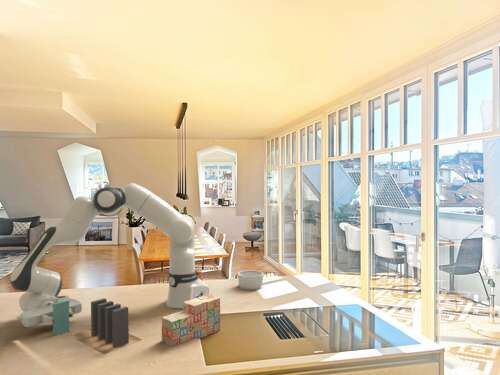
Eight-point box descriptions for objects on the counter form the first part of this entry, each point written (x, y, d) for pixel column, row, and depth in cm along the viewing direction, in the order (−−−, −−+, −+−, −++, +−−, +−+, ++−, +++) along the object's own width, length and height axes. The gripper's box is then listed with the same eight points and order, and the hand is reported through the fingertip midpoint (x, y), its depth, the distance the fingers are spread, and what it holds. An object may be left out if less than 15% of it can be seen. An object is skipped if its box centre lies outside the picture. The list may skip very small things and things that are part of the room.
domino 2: (104, 331, 140) (104, 298, 139) (107, 332, 139) (106, 299, 138) (91, 335, 136) (90, 301, 135) (93, 336, 135) (93, 302, 134)
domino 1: (67, 332, 141) (66, 300, 140) (69, 333, 140) (68, 300, 139) (53, 337, 137) (52, 303, 136) (55, 338, 136) (54, 304, 135)
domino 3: (111, 334, 137) (111, 300, 136) (113, 335, 136) (113, 301, 135) (98, 339, 133) (97, 304, 132) (100, 340, 132) (100, 305, 131)
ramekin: (254, 292, 189) (254, 278, 189) (232, 287, 196) (232, 274, 196) (268, 285, 200) (268, 272, 200) (246, 281, 207) (246, 268, 207)
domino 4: (118, 338, 134) (118, 303, 133) (121, 339, 133) (120, 304, 132) (105, 342, 130) (104, 307, 130) (107, 344, 129) (107, 308, 129)
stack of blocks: (172, 349, 127) (172, 312, 127) (161, 344, 132) (161, 308, 131) (220, 330, 143) (220, 297, 143) (209, 326, 147) (209, 293, 147)
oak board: (107, 326, 147) (107, 323, 147) (142, 342, 133) (142, 339, 133) (70, 338, 136) (70, 335, 136) (104, 357, 122) (104, 354, 122)
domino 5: (126, 341, 131) (125, 306, 131) (128, 342, 130) (128, 307, 130) (112, 346, 127) (112, 310, 127) (115, 348, 126) (114, 311, 126)
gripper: (14, 308, 138) (30, 317, 129) (71, 294, 154) (89, 301, 145) (14, 325, 138) (31, 336, 130) (71, 310, 154) (89, 318, 145)
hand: (62, 317), depth 137 cm, fingers closed on domino 1, 5 cm apart
